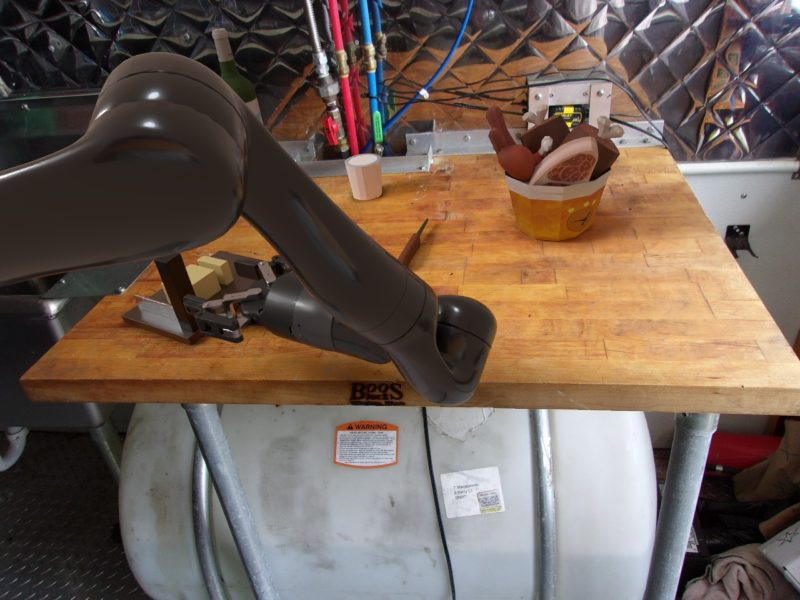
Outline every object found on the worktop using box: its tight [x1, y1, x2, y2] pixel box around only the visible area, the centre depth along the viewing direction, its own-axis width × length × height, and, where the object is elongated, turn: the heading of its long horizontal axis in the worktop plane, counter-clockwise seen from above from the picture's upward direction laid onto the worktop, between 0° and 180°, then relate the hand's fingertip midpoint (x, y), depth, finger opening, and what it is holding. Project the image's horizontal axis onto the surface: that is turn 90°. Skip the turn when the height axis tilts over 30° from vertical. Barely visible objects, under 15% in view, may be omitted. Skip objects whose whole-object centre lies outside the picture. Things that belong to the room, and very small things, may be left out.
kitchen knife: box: [397, 217, 429, 267], centre depth 93 cm, size 16×1×2 cm, turn 162°
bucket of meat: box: [485, 104, 626, 242], centre depth 89 cm, size 20×16×20 cm
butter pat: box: [196, 255, 233, 285], centre depth 89 cm, size 2×5×4 cm, turn 60°
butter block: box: [160, 263, 221, 304], centre depth 85 cm, size 6×5×4 cm
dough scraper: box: [133, 253, 199, 332], centre depth 79 cm, size 12×2×11 cm, turn 60°
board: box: [121, 250, 285, 346], centre depth 88 cm, size 20×14×1 cm
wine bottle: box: [211, 27, 264, 125], centre depth 117 cm, size 8×8×30 cm
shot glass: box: [344, 153, 383, 201], centre depth 111 cm, size 7×7×7 cm
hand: (212, 284), depth 72 cm, fingers open, 8 cm apart
